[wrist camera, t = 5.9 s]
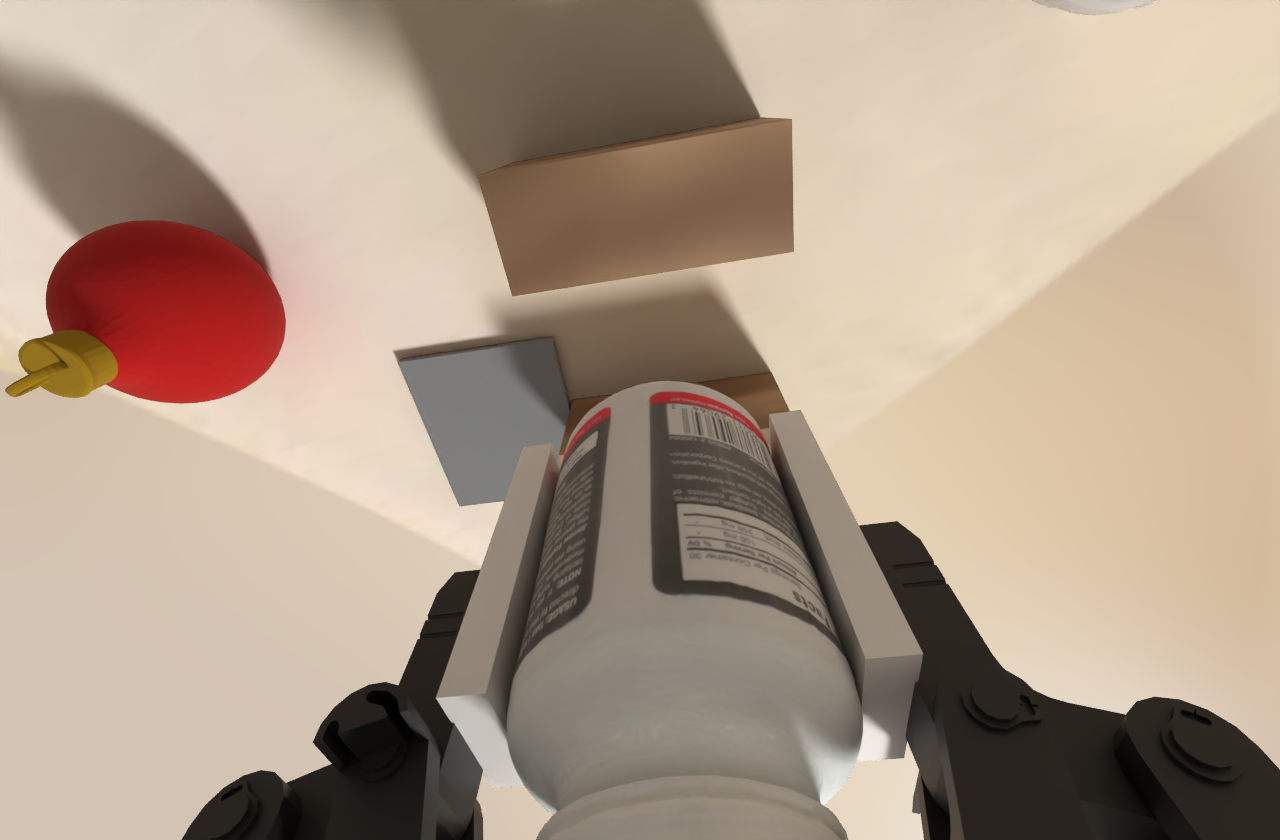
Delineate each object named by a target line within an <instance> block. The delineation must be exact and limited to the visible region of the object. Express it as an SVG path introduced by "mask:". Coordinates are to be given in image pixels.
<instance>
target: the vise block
mask: <svg viewBox="0 0 1280 840" xmlns="http://www.w3.org/2000/svg"><path fill="white" fill-rule="evenodd" d="M478 179H479V182H480V186H481V189H482V193H483V196H484V200H485V203H486V207H487V210H488V213H489V217H490V220H491V224H492V227H493V231H494V234H495V238H496V241H497V245H498V248H499V251H500V255H501V258H502V262H503V265H504V269H505V272H506V276H507V279H508V283H509V286H510V290H511V293H512V296H518V295H524V294H530V293H537V292H543V291H549V290H555V289H562V288H568V287H574V286H581V285H587V284H593V283H599V282H606V281H612V280H618V279H625V278H631V277H637V276H644V275H650V274H656V273H662V272H669V271H675V270H681V269H688V268H694V267H700V266H707V265H713V264H719V263H725V262H732V261H738V260H744V259H751V258H757V257H763V256H769V255H776V254H782V253H788V252H794V237H793V169H792V119H781V118H762V117H761V118H756V119H750V120H745V121H739V122H734V123H728V124H723V125H717V126H712V127H706V128H701V129H695V130H690V131H684V132H679V133H674V134H668V135H663V136H657V137H652V138H646V139H641V140H635V141H630V142H624V143H619V144H613V145H608V146H602V147H597V148H592V149H586V150H581V151H575V152H570V153H564V154H559V155H553V156H548V157H542V158H537V159H531V160H526V161H520V162H515V163H511V164H508V165H506V166H503V167H500V168H498V169H495V170H493V171H490V172H487V173H485V174H482V175H479V176H478ZM692 384H697V385H701V386H705V387H707V388H710V389H713V390H715V391H717V392H720V393H722V394H724V395H725V396H727V397H729V398H731V399H732V400H734V401H735V402H737V403H738V404H739V405H741V406H742V407H743V408H744V409H745V410H747V411H748V413H749V414H750V415H751V416H752V417H753V419H754V420H755V421H756V423H757V424H758V426H759V427H760V429H761V431H762V433H763V435H764V437H765V439H766V442H767V444H768V447H769V451H770V428H769V414H774V413H782V412H789V411H790V410H789V408H788V406H787V404H786V402H785V400H784V398H783V396H782V394H781V391H780V389H779V387H778V385H777V383H776V381H775V379H774V377H773V375H772V372H771V373H764V374H757V375H749V376H742V377H735V378H728V379H721V380H713V381H706V382H699V383H692ZM612 395H613V394H612ZM612 395H605V396H598V397H591V398H584V399H576V400H573V401H572V405H571V409H570V413H569V417H568V421H567V425H566V428H565V432H564V436H563V440H562V444H561V448H560V451H559V459H560V462H561V465H562V461H563V457H564V453H565V450H566V447H567V444H568V441H569V439H570V436H571V434H572V432H573V431H574V429H575V428H576V427H577V425H578V424H579V422H580V421H581V420H582V418H583V417H584V416H585V415H586V414H587V413H588V412H589V411H590V410H591V409H592V408H593V407H595V406H596V405H597V404H598V403H600V402H602V401H603V400H605V399H607V398H608V397H610V396H612ZM770 454H771V452H770Z"/></svg>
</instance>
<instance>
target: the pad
mask: <svg viewBox="0 0 1280 840" xmlns="http://www.w3.org/2000/svg"><path fill="white" fill-rule="evenodd" d="M398 364H399V366H400V368H401V371H402V373H403V375H404V378H405V380H406V382H407V385H408V387H409V389H410V392H411V394H412V396H413V399H414V401H415V403H416V406H417V408H418V410H419V413H420V415H421V417H422V420H423V422H424V424H425V427H426V429H427V432H428V434H429V436H430V439H431V441H432V443H433V446H434V448H435V450H436V453H437V455H438V457H439V460H440V462H441V464H442V467H443V469H444V471H445V474H446V476H447V478H448V481H449V483H450V485H451V488H452V490H453V492H454V495H455V497H456V499H457V502H458V504H459V506H467V505H475V504H483V503H491V502H499V501H505V498H506V495H507V492H508V490H509V487H510V484H511V481H512V478H513V475H514V472H515V469H516V467H517V464H518V461H519V458H520V455H521V452H522V449H523V447H526V446H534V445H541V444H549V443H553V447H554V450H555V453H556V457H557V460H558V463H559V467H560V469H561V462H560V459H559V451H560V448H561V444H562V440H563V436H564V432H565V428H566V425H567V421H568V417H569V413H570V409H571V406H570V402H569V398H568V395H567V391H566V387H565V383H564V379H563V375H562V372H561V368H560V364H559V360H558V356H557V352H556V349H555V345H554V341H553V337H545V338H539V339H532V340H525V341H519V342H512V343H505V344H499V345H492V346H485V347H479V348H472V349H465V350H459V351H452V352H446V353H439V354H432V355H426V356H419V357H412V358H406V359H401V360H400V361H399V362H398Z"/></svg>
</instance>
